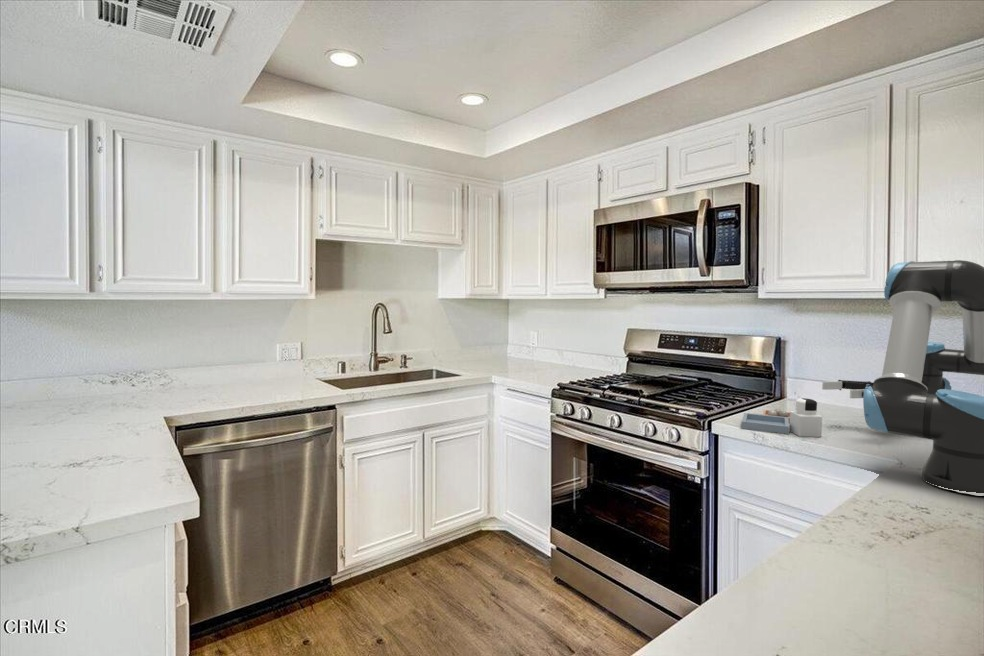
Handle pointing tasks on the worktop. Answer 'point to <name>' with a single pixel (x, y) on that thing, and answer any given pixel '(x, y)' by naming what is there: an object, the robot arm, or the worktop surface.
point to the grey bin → (765, 423)
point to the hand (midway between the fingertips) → (836, 389)
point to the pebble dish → (765, 412)
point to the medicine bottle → (805, 419)
